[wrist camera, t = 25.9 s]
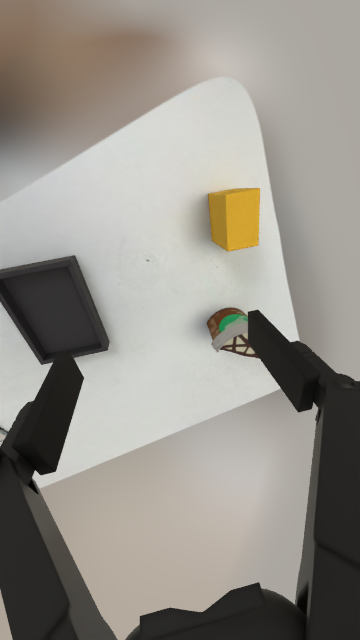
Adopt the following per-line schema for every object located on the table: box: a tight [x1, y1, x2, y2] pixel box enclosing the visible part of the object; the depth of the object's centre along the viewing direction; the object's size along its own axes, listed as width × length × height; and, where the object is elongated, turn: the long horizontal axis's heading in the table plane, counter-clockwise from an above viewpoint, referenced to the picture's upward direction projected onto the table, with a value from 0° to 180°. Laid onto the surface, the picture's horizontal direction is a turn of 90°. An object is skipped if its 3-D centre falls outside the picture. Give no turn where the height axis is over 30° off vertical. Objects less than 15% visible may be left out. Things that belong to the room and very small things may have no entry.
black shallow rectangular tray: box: [0, 256, 109, 365], centre depth 38 cm, size 18×13×3 cm
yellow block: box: [208, 188, 260, 251], centre depth 32 cm, size 7×4×8 cm, turn 9°
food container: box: [207, 308, 260, 359], centre depth 42 cm, size 12×6×10 cm, turn 68°
